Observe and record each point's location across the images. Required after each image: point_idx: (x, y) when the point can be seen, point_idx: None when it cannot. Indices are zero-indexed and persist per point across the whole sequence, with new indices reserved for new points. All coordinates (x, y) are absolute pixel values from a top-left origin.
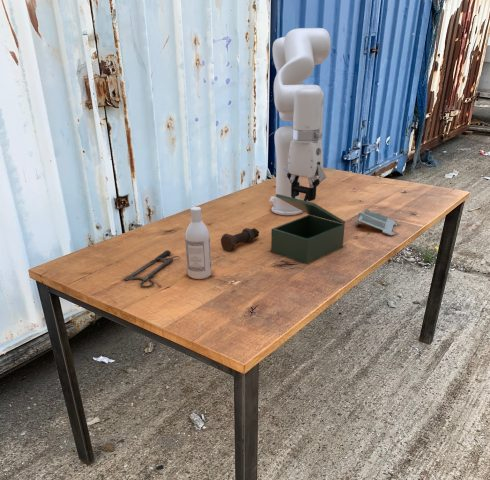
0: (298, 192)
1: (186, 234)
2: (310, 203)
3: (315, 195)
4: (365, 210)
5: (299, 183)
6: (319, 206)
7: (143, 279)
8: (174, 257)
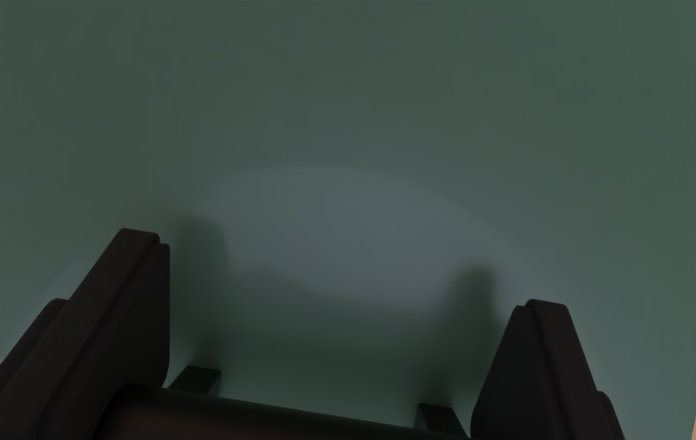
0: (151, 295)
1: None
2: None
3: (608, 419)
4: None
5: (59, 428)
6: (694, 420)
7: None
8: None
